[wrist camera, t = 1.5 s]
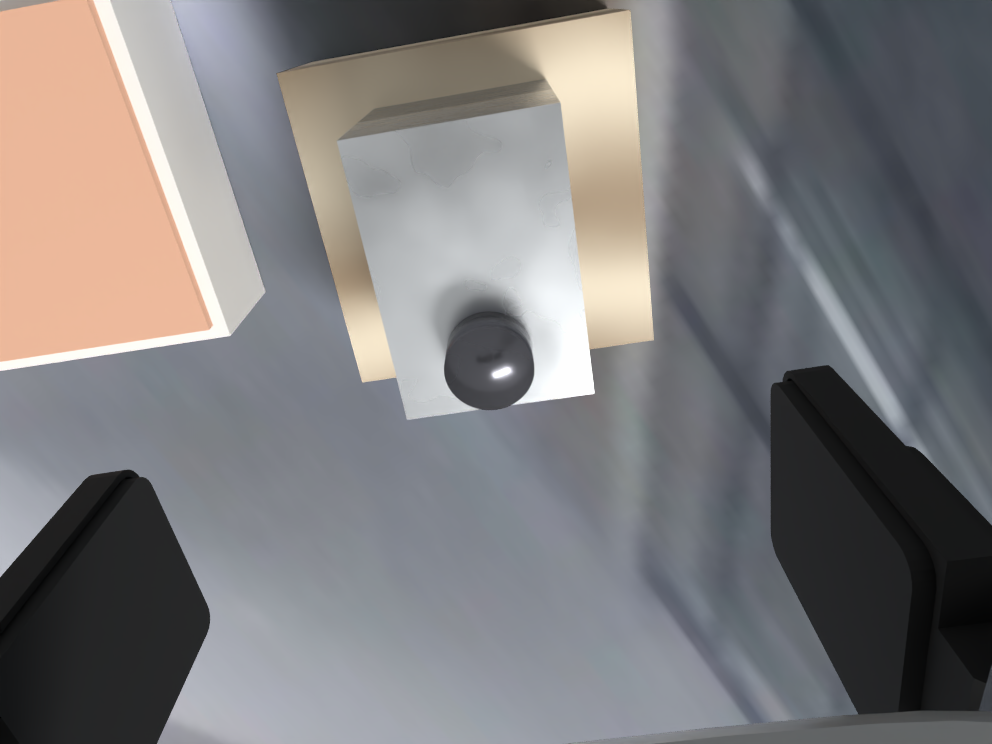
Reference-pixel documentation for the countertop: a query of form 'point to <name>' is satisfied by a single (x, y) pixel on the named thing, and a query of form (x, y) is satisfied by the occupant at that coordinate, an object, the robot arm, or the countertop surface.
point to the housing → (472, 247)
